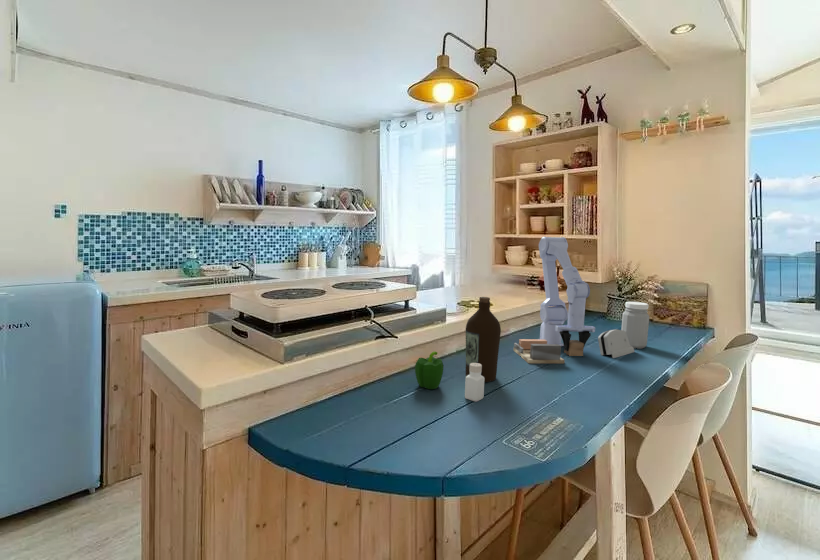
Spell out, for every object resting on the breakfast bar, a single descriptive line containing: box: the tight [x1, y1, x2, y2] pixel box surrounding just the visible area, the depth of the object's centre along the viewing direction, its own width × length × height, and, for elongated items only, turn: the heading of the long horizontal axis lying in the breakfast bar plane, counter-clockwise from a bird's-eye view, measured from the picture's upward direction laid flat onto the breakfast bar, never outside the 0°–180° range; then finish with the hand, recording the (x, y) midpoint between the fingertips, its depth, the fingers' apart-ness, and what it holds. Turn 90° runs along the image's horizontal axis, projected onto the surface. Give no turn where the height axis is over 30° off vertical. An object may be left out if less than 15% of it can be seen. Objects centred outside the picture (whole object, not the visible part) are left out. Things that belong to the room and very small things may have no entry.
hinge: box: [597, 329, 635, 359], centre depth 164 cm, size 17×5×10 cm, turn 127°
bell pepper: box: [414, 351, 444, 390], centre depth 121 cm, size 8×8×10 cm
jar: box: [620, 301, 650, 350], centre depth 174 cm, size 10×10×18 cm
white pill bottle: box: [464, 363, 485, 402], centre depth 113 cm, size 4×4×10 cm
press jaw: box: [518, 338, 547, 349], centre depth 160 cm, size 2×10×3 cm, turn 95°
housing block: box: [563, 339, 585, 357], centre depth 159 cm, size 5×5×5 cm
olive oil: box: [465, 296, 502, 383], centre depth 130 cm, size 11×11×25 cm
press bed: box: [512, 342, 566, 364], centre depth 155 cm, size 16×13×6 cm
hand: (573, 350), depth 159 cm, fingers closed on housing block, 5 cm apart
